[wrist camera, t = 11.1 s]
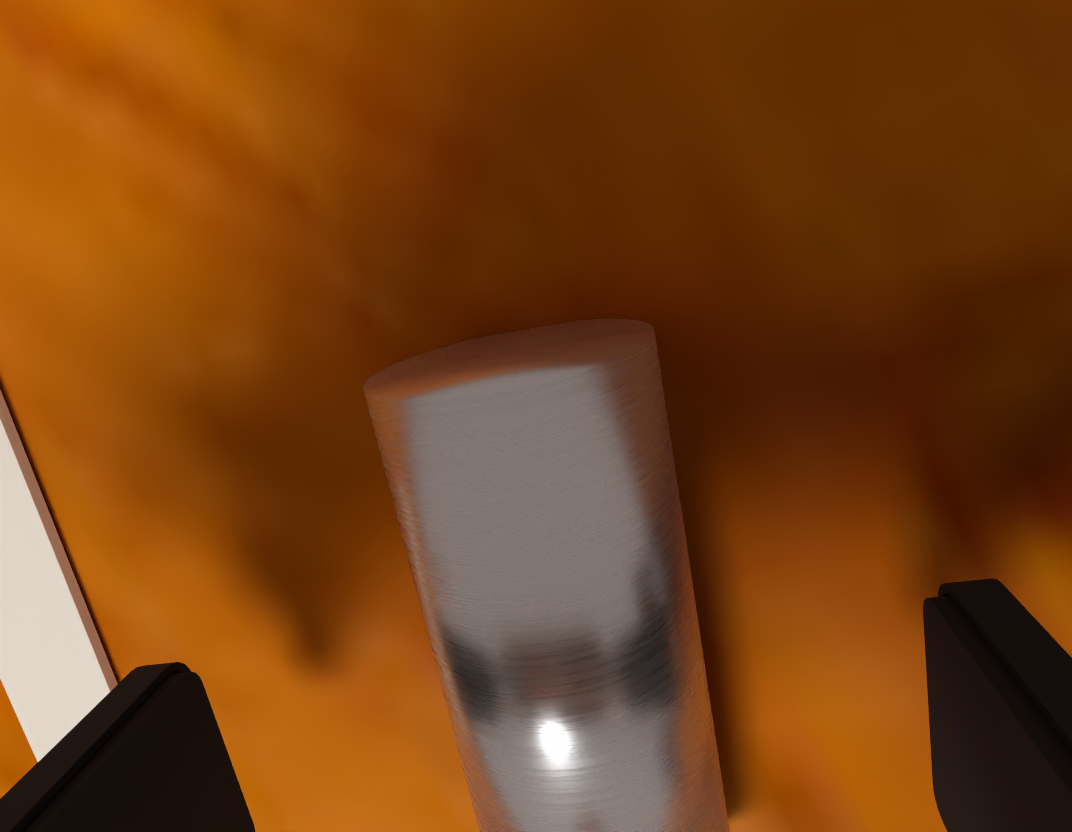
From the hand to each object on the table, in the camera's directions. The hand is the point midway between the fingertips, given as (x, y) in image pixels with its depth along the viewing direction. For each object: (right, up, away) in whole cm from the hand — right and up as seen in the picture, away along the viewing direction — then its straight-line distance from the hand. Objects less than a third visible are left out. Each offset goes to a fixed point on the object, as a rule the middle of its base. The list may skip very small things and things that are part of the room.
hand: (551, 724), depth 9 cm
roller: (+1, +1, +2) cm, 3 cm away
